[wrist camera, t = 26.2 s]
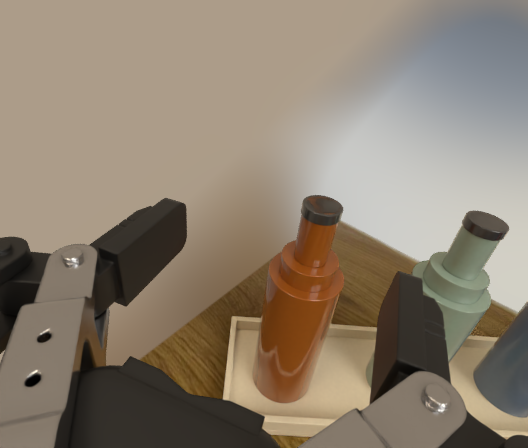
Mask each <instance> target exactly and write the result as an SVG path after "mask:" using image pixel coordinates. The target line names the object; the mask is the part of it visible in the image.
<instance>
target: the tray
mask: <svg viewBox="0 0 528 448" xmlns="http://www.w3.org/2000/svg"><path fill="white" fill-rule="evenodd" d="M260 319H261V318H252V317H239V316H232V319H231V329H230V338H229V347H228V356H227V365H226V374H225V383H224V392H223V400H229V401H232V402H234V403H236V404H238V405H241V406H243V407H245V408H247V409H249V410H252V411H254V412H256V413H258V414H261V415H263V416H265V419H264V423H263V427H262V429H264V430H265V431H266V432H267V433H268V434H270V435H286V436H302V437H313V436H314V435H316V434H317V433H319V432H320V431H322V430H323V429H324V428H326V427H327V426H329V425H330V424H331V423H333V422H334V421H336V420H337V419H339V418H340V417H341V416H343V415H344V414H346V413H347V412H349V411H351V410H353V409H355V408H358V409H359V411H360V410H363V409H364V408H366V407H367V406H369V403H370V393H371V388H370V386H369V384H368V382H367V378H366V366H367V364H368V362H369V360H370V358H371V356H372V354H373V351H374V349H375V343H376V334H377V328H374V327H362V326H350V325H337V324H330V327H329V330H328V333H327V336H326V339H325V342H324V345H323V348H322V351H321V354H320V357H319V360H318V363H317V366H316V369H315V372H314V375H313V378H312V380H311V383H310V386H309V389H308V391H307V392H306V394H305V395H304V396H303V397H302V398H301V399H299V400H297V401H295V402H292V403H277V402H274V401H271V400H269V399H268V398H266V397H265V396H263V395H262V394H261V393H260V392H259V390H258V389H257V387H256V386H255V383H254V381H253V376H252V369H253V363H254V357H255V350H256V344H257V338H258V332H259V325H260ZM497 339H498V338H497V337H484V336H472V335H469V336H468V338H467V339H466V341H465V342H464V343H463V345H462V346H461V348H460V349H459V351H458V352H457V353H456V355H455V356H454V358H453V359H452V360H451V362H450V363H449V370H450V378H451V385H452V386H453V387H454V388H455V389H456V390H457V391H458V393H459V394H460V395H461V397H462V399H463V401H464V403H465V407H466V410H467V411H468V412H469V413H470V414H471V415H472V416H473V417H475V418H476V419H477V420H479V421H480V422H481V423H483V424H484V425H486V426H487V427H489V428H490V429H492V430H493V431H495V432H496V433H498V434H499V435H501V436H502V437H504V438H505V439H506V440H507V439H508V438H509V437H511V436H513V435H525V436H528V417H526V418H520V417H515V416H512V415H509V414H507V413H504V412H503V411H501V410H499V409H498V408H496V407H495V406H494V405H492V404H491V403H490V402H489V401H488V400H487V399H486V398H485V397H484V396H483V395H482V394H481V392H480V391H479V390H478V388H477V386H476V384H475V381H474V378H473V371H474V369H475V367H476V366H477V365H478V363H479V362H480V361H481V359H482V358H483V357H484V356H485V354H486V353H487V352H488V351H489V349H490V348H491V347H492V346H493V344H494V343H495V342H496V340H497Z"/></svg>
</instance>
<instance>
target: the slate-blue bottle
mask: <svg viewBox="0 0 528 448" xmlns="http://www.w3.org/2000/svg"><path fill="white" fill-rule="evenodd" d="M473 378H474V381H475V384H476V386H477V388H478V390H479V391H480V392H481V394H482V395H483V396H484V397H485V398H486V399H487V400H488V401H489V402H490V403H491V404H492V405H494V406H495V407H496V408H498V409H499V410H501V411H503V412H504V413H507V414H509V415H512V416H515V417H520V418H526V417H528V301H527V302H526V304H525V305H524V306H523V307H522V309H521V310H520V311H519V313H518V314H517V315H516V316H515V318H514V319H513V320H512V321H511V323H510V324H509V325H508V327H507V328H506V329H505V330H504V332H503V333H502V334H501V335H500V337H499V338H498V339H497V340H496V342H495V343H494V344H493V346H492V347H491V348H490V349H489V351H488V352H487V353H486V354H485V356H484V357H483V358H482V359H481V361H480V362H479V363H478V365H477V366H476V367H475V369H474V371H473Z"/></svg>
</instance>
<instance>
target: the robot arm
mask: <svg viewBox="0 0 528 448" xmlns="http://www.w3.org/2000/svg"><path fill="white" fill-rule="evenodd" d="M186 223H187V221H186V205H185V204H184V203H181V202H178V201H175V200H171V199H168V198H164V199H163V200H161V201H160V202H158V203H157V204H156V205H154V206H153V207H151V206H149V207H146V208H144V209H141V210H138V211H136V212H135V213H133V214H132V215H131V216H129V217H128V218H127V220H126V219H125V220H123V221H122V222H121V223H120V224H119V225H116V226H115V227H114V228H112V229H111V230H110V231H108V232H107V233H105V234H104V235H102V236H101V237H100V238H98V239H97V240H95V241H94V242H93V243H91V244H90V245H85V244H73V245H68V246H65V247H62V248H60V249H58V250H56V251H55V252H53V253H52V254H48V253H38V252H30V249H29V246H28V243H27V241H26V240H24V239H22V238H18V237H4V238H0V354H1V353H2V352H3V351H4V350H5V352H4V355H3V357H2V360H1V363H0V448H280V446H279V445H278V444H277V442H276V441H275V440H274V439H273V438H272V437H271V436H270V435H269V434H268V433H267V432H266V431H265V430H264V429H262V427H263V423H264V419H265V416H263V415H261V414H258V413H256V412H254V411H252V410H249V409H247V408H245V407H243V406H241V405H238V404H236V403H234V402H232V401H229V400H223V399H217V398H210V397H204V396H198V395H192V394H189V393H187V392H186V391H185V390H184V389H182V388H181V387H180V386H179V385H178V384H177V383H176V382H174V381H173V380H172V379H171V378H170V377H169V376H167V375H166V374H165V373H164V372H163V371H162V370H160V369H158V368H156V367H154V366H151V365H149V364H147V363H145V362H142V361H140V360H138V359H136V358H133V357H131V356H130V357H129V359H128V360H127V361H126V362H125V363H124V365H123V366H106V347H107V335H108V324H109V306H110V305H111V304H113V303H114V302H116V303H118V304H121V305H123V306H127V305H128V304H129V303H130V302H131V301H132V300H133V299H134V298H135V297H136V296H137V295H138V294H139V293H140V292H141V291H142V290H143V289H144V288H145V287H146V286H147V285H148V284H149V283H150V282H151V281H152V280H153V278H155V277H156V276H157V275H158V274H159V273H160V271H161V270H162V269H163V268H164V267H165V266H166V265H167V264H168V263H169V262H170V261H171V260H172V259H173V258H174V257H175V256H176V255H177V254H178V253H179V252H180V251H181V250H182V248H183V247H184V244H185V242H186V238H187V224H186ZM445 337H446V335H445V328H444V318H443V312H442V310H441V309H440V307H439V305H438V304H437V302H436V300H435V299H434V298H431V297H428V296H425V295H423V281H422V278H419V277H416V276H413V275H410V274H406V273H403V272H400V271H398V272H397V273H396V275H395V277H394V279H393V281H392V283H391V286H390V288H389V290H388V292H387V294H386V296H385V299H384V301H383V303H382V306H381V309H380V312H379V316H378V324H377V334H376V343H375V353H374V363H373V373H372V383H371V393H370V403H369V406H367V407H366V408H364V409H363V410H360V411H359V409H358V408H355V409H353V410H351V411H349V412H347V413H346V414H344V415H343V416H341V417H340V418H339V419H337V420H336V421H334V422H333V423H331V424H330V425H329V426H327V427H326V428H324V429H323V430H322V431H320V432H319V433H317V434H316V435H314V436H313V437H312V438H310V439H309V440H307V441H306V442H304V443H303V444H302V445H300V446H299V447H297V448H528V436H525V435H513V436H511V437H509V438H508V439H507V440H506V439H505V438H504V437H502V436H501V435H499V434H498V433H496V432H495V431H493V430H492V429H490V428H489V427H487V426H486V425H484V424H483V423H481V422H480V421H479V420H477V419H476V418H475V417H473V416H472V415H471V414H470V413H469V412H468V411H467V410H466V407H465V403H464V401H463V399H462V397H461V395H460V394H459V393H458V391H457V390H456V389H455V388H454V387H453V386H452V385H451V378H450V370H449V361H448V353H447V344H446V340H445Z"/></svg>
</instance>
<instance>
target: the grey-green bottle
mask: <svg viewBox="0 0 528 448" xmlns="http://www.w3.org/2000/svg"><path fill="white" fill-rule="evenodd" d="M508 231H509V226H508V225H507V224H506V223H505V222H504V221H503V220H501V219H499V218H498V217H496V216H494V215H491V214H489V213H485V212H481V211H469V212H468V213H466V215H465V217H464V219H463V221H462V226H461V228H460V230H459V231H458V233H457V235H456V237H455V239H454V241H453V243H452V244H451V246H450V248H449V250H448V252H438V253H435V254H433V255H432V256H431V258H430V259H429V260H427V261H422V262H420V263H418V264H416V265H415V266H414V268H413V270H412V272H411V274H410V275H413V276H416V277H419V278H422V281H423V295H425V296H428V297H431V298H434V299H435V300H436V302H437V304H438V305H439V307H440V309H441V310H442V312H443V318H444V328H445V335H446V337H445V340H446V344H447V353H448V361H449V363H450V362H451V360H452V359H453V358H454V356H455V355H456V353H457V352H458V351H459V349H460V348H461V346H462V345H463V343H464V342H465V341H466V339H467V338H468V336H469V335H470V334H471V332H472V331H473V329H474V328H475V327H476V325H477V324H478V322H479V321H480V319H481V318H482V317H483V315H484V314H485V312H486V311H487V310H488V308H489V307H490V305H491V297H490V294H489V292H488V290H487V287H488V286H489V284H490V279H489V276H488V274H487V273H486V272H485V270H483V267H484V266H485V264H486V263H487V261H488V260H489V258H490V256H491V255H492V253H493V252H494V250H495V248H496V246H497V245H498V244H499V242H500V241H501V240H502V239H504V237H505V236H506V234H507V233H508ZM374 353H375V349H374V351H373V354H372V356H371V358H370V360H369V362H368V364H367V366H366V378H367V382H368V384H369V386H370V388H371V383H372V373H373V363H374Z"/></svg>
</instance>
